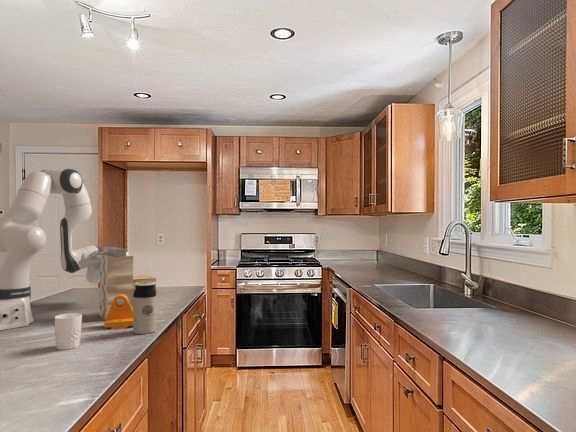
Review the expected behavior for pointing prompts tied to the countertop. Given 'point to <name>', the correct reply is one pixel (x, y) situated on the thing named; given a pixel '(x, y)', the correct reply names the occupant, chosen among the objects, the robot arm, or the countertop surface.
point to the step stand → (118, 281)
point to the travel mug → (144, 308)
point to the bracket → (119, 314)
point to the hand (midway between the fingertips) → (109, 250)
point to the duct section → (114, 251)
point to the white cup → (68, 330)
